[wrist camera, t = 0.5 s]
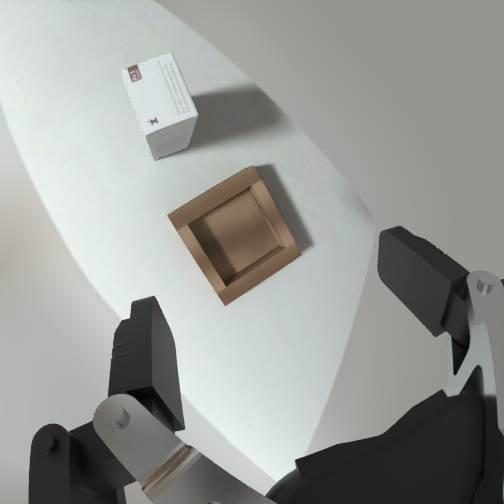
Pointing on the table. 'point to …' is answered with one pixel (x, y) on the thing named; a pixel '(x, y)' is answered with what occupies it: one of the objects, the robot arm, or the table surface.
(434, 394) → the robot arm
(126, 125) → the table surface
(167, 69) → the skincare box
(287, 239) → the wooden tray
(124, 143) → the table surface
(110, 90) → the table surface
